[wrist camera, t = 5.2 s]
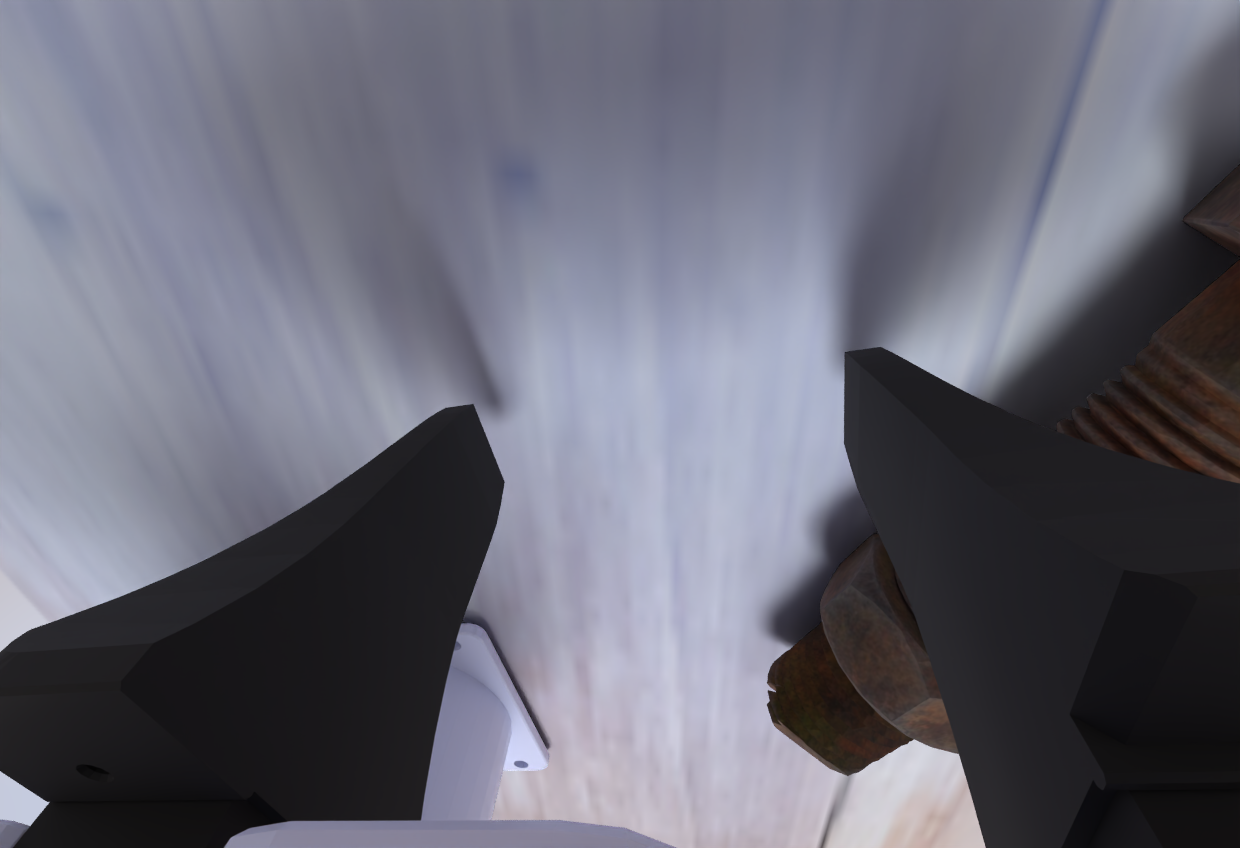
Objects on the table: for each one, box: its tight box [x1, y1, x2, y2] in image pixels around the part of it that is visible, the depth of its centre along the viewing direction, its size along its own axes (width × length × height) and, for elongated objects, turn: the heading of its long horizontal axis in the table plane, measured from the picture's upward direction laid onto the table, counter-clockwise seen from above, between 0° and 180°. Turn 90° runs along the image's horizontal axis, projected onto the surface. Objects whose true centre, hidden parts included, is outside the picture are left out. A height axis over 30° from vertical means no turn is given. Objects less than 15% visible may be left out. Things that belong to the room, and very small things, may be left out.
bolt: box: [767, 165, 1240, 776], centre depth 12 cm, size 6×5×15 cm
